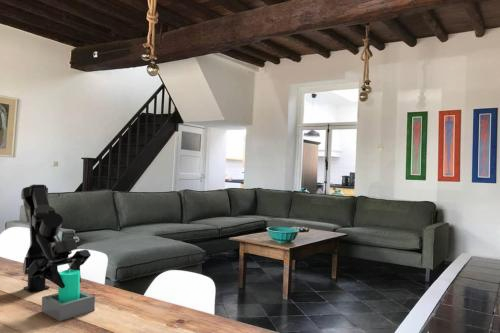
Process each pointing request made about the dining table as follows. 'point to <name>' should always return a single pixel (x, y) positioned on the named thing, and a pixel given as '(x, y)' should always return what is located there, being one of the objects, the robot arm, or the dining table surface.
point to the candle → (69, 286)
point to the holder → (67, 306)
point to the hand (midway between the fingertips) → (71, 285)
